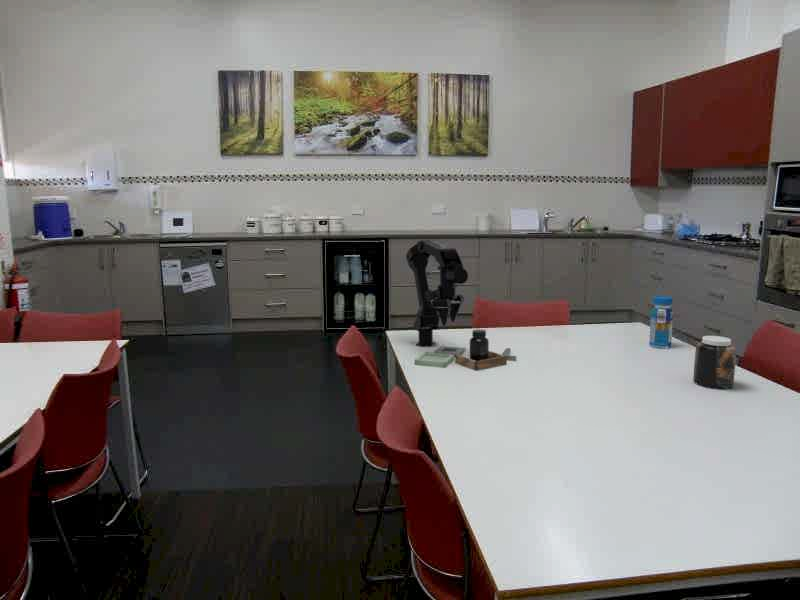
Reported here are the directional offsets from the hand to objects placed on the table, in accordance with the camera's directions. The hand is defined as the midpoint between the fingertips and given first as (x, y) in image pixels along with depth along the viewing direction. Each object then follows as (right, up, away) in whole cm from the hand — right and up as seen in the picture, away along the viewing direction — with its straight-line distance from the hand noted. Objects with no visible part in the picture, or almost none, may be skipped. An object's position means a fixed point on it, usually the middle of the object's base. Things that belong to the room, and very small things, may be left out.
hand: (448, 323), depth 243 cm
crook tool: (+23, -13, 0) cm, 27 cm away
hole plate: (+1, -12, +5) cm, 13 cm away
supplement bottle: (+10, -14, -9) cm, 20 cm away
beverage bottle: (+85, -10, +14) cm, 87 cm away
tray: (-6, -14, -7) cm, 16 cm away
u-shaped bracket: (+10, -14, -9) cm, 19 cm away
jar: (+83, -19, -34) cm, 92 cm away
